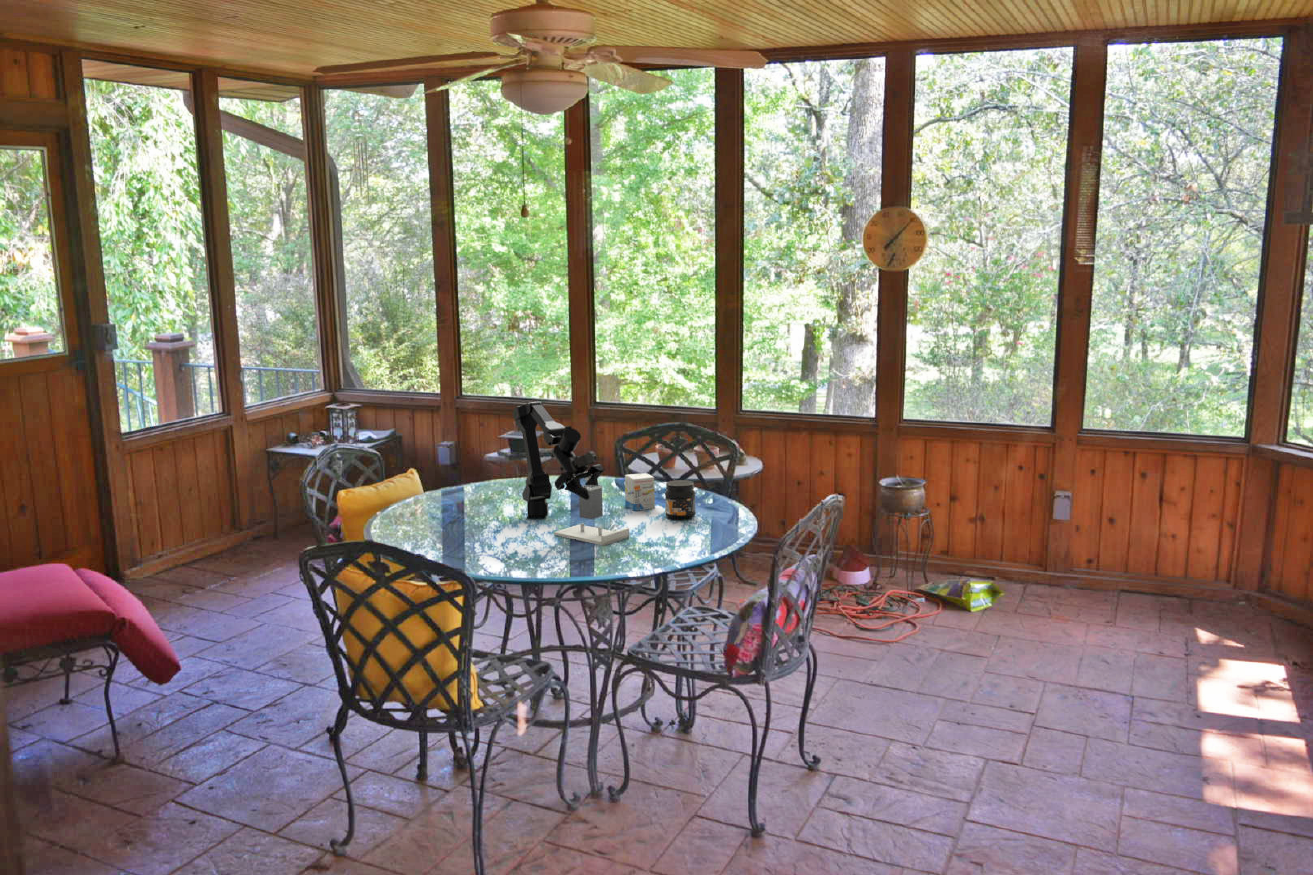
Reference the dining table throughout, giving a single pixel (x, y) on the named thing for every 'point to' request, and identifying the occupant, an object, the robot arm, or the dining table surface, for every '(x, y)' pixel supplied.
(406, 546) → the dining table surface
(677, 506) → the supplement container
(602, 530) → the tray
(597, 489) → the block
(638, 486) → the ink box
